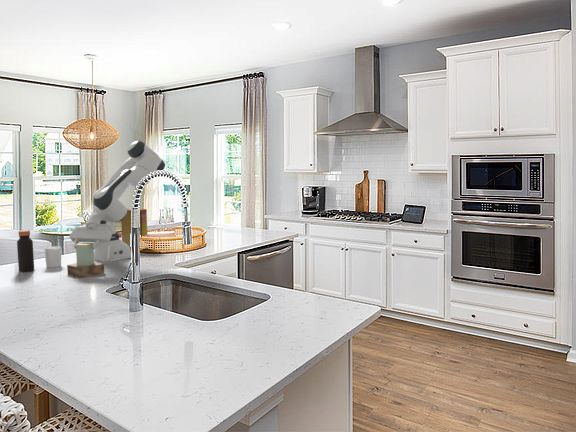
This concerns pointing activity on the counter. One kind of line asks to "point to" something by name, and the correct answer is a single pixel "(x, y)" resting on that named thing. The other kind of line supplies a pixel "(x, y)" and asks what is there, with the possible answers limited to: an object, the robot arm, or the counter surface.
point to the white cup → (53, 256)
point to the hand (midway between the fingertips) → (84, 248)
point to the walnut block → (85, 270)
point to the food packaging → (127, 225)
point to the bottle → (25, 252)
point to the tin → (84, 254)
